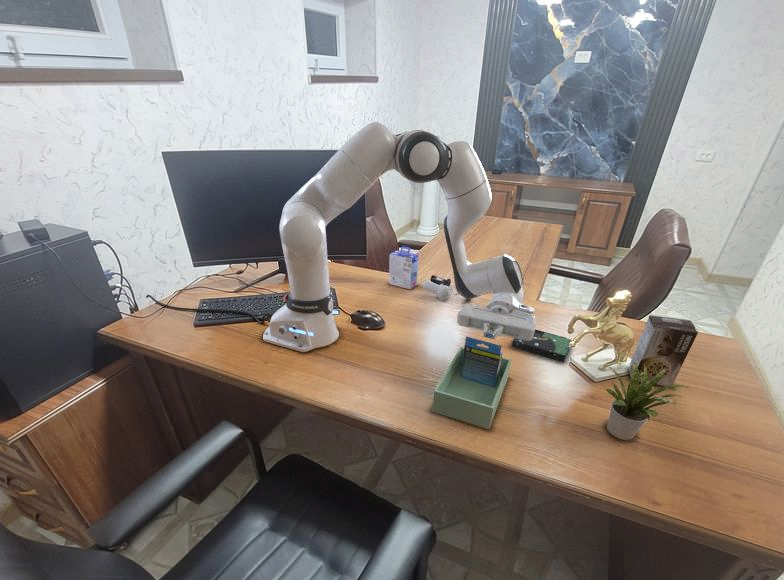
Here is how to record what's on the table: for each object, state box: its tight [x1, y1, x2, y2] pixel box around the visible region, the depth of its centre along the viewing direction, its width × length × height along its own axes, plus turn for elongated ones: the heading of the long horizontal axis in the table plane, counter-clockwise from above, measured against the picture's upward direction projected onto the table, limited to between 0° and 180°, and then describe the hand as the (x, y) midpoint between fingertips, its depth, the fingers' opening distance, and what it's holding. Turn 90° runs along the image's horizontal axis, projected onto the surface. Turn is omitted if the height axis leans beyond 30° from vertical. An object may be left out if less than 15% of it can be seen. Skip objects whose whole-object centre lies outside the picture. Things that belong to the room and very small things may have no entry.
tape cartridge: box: [461, 336, 504, 387], centre depth 96 cm, size 9×4×12 cm, turn 62°
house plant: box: [603, 362, 689, 441], centre depth 79 cm, size 14×14×16 cm
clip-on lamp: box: [422, 274, 472, 302], centre depth 140 cm, size 12×6×18 cm
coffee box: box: [627, 314, 699, 387], centre depth 97 cm, size 9×6×16 cm
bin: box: [431, 346, 512, 430], centre depth 93 cm, size 20×13×6 cm, turn 154°
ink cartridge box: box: [388, 245, 419, 290], centre depth 146 cm, size 10×6×14 cm, turn 59°
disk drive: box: [510, 328, 572, 364], centre depth 112 cm, size 10×3×15 cm
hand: (489, 335), depth 98 cm, fingers closed
